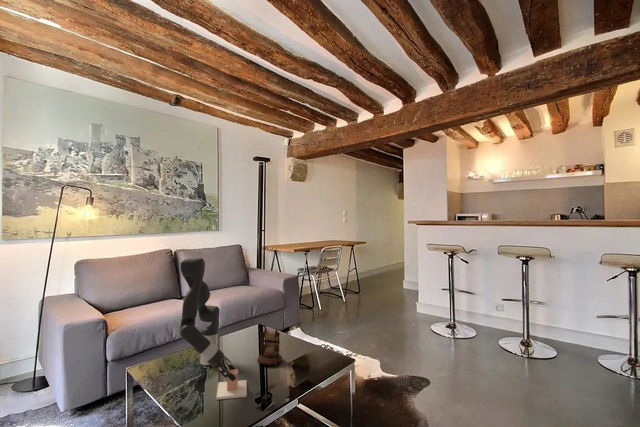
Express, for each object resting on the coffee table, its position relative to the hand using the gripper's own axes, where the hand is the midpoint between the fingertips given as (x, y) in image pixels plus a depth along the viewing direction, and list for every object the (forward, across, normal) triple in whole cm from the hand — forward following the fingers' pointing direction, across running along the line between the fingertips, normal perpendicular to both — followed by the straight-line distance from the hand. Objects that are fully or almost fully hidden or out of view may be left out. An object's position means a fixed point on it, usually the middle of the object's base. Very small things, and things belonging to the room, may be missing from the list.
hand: (234, 375), depth 157 cm
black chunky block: (+16, -16, -5) cm, 23 cm away
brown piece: (+20, +29, -9) cm, 36 cm away
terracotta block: (+4, 0, +5) cm, 6 cm away
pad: (+4, 0, +6) cm, 7 cm away
